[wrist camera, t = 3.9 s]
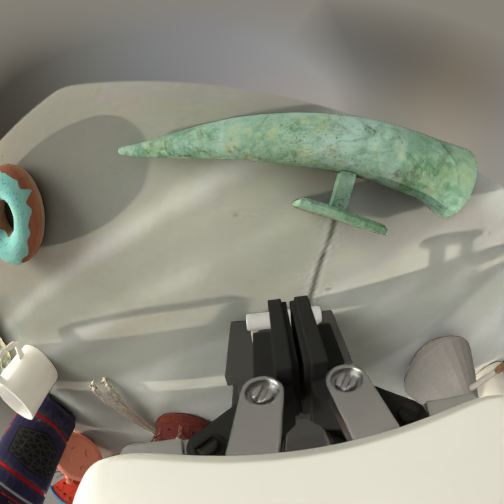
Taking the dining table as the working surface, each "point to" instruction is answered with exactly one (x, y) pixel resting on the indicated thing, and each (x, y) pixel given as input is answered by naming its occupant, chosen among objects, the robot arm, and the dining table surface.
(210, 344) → the dining table surface
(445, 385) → the coffee pot
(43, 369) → the cup
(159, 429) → the lantern
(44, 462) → the canister
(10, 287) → the dining table surface
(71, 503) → the toy train
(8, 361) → the cabbage leaf
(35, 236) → the donut
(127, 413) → the jawbone
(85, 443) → the sugar bowl
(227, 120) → the decorative horn
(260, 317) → the drawer
